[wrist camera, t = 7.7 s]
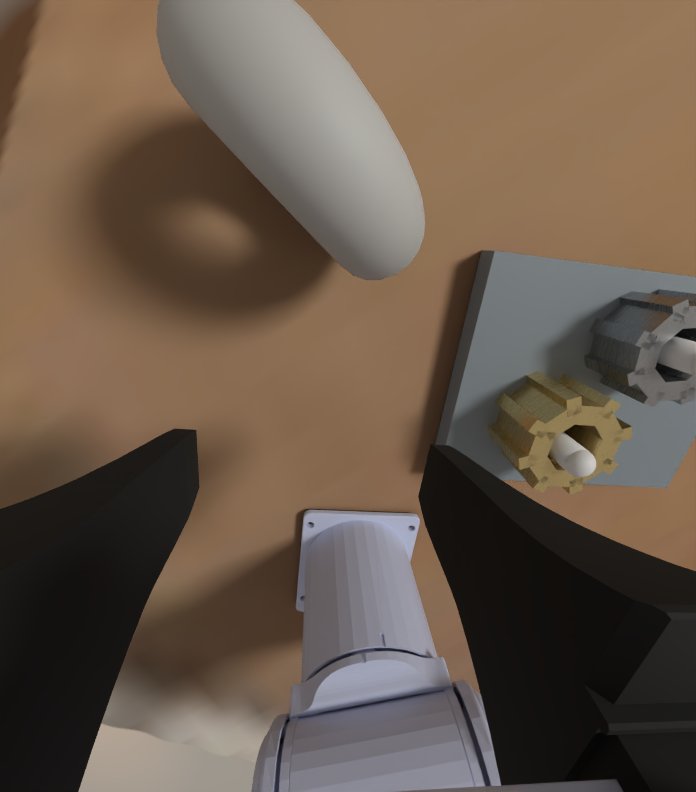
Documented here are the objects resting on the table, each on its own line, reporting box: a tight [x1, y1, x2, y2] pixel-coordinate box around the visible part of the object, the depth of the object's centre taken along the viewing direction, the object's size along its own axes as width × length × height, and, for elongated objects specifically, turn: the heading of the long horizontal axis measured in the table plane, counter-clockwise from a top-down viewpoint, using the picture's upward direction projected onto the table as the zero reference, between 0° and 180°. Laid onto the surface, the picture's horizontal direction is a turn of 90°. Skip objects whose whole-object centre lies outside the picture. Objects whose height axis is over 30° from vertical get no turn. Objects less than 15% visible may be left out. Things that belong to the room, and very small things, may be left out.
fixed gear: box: [584, 289, 696, 408], centre depth 18 cm, size 5×5×3 cm
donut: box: [157, 0, 425, 280], centre depth 12 cm, size 10×3×10 cm, turn 45°
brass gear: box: [488, 372, 632, 494], centre depth 19 cm, size 6×6×4 cm
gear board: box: [435, 250, 696, 488], centre depth 19 cm, size 13×16×6 cm
